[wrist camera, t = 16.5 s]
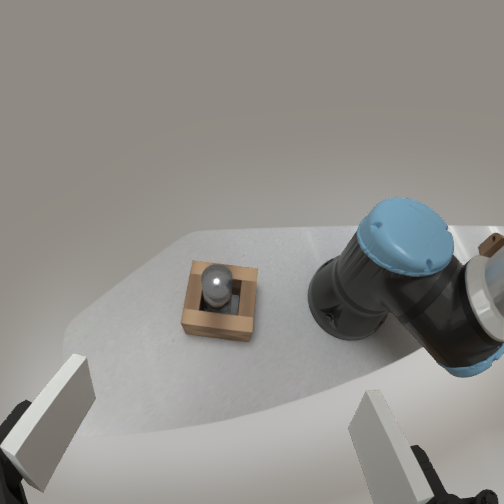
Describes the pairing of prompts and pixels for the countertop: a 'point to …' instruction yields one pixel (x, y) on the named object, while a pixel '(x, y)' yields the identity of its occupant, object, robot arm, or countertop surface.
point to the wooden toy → (491, 245)
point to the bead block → (217, 323)
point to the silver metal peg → (217, 288)
